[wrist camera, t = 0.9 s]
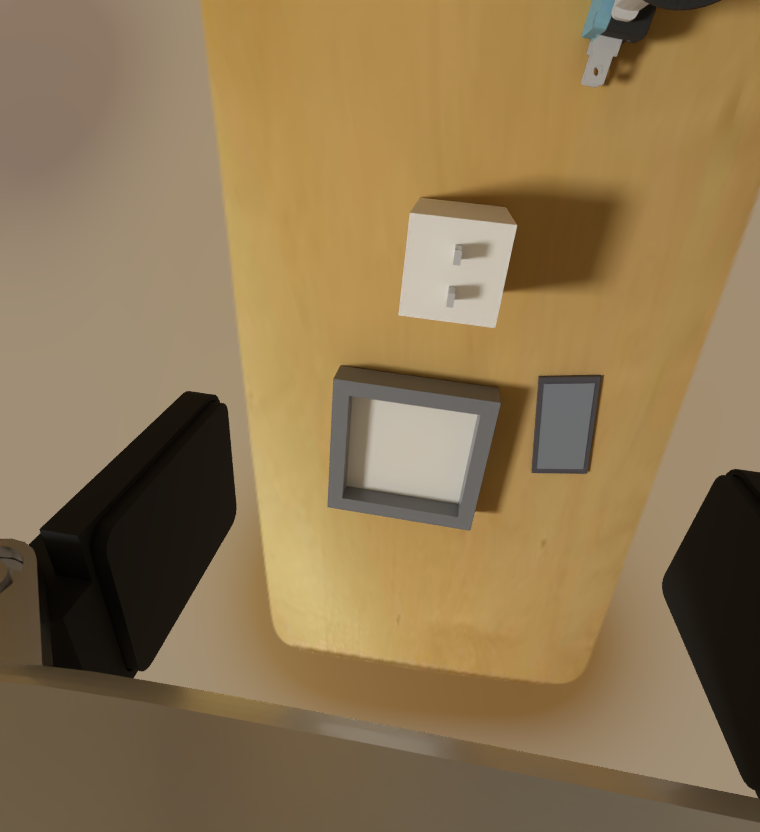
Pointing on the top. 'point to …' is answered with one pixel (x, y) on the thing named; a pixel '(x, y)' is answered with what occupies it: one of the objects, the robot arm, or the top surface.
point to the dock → (409, 446)
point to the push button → (621, 29)
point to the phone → (564, 423)
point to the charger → (456, 261)
